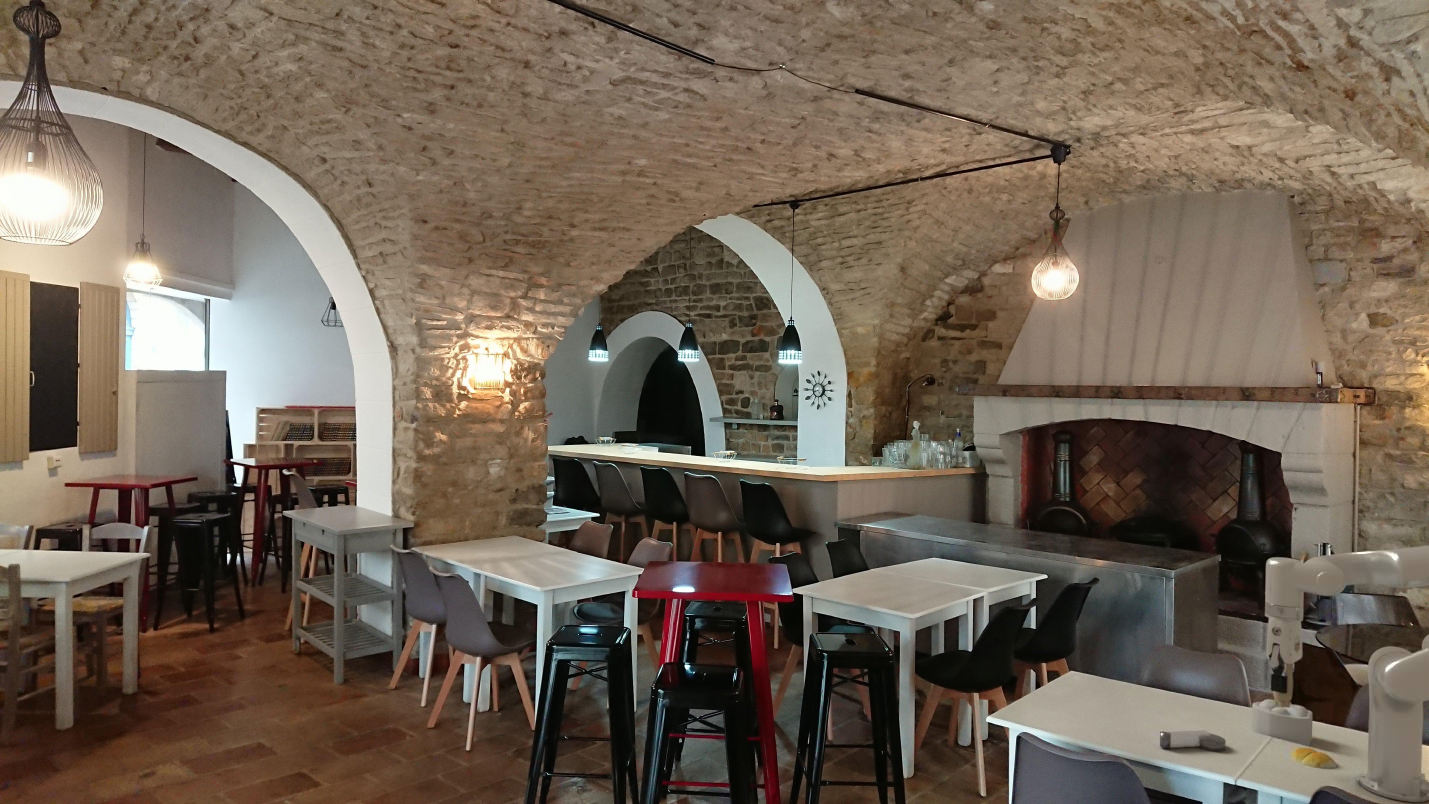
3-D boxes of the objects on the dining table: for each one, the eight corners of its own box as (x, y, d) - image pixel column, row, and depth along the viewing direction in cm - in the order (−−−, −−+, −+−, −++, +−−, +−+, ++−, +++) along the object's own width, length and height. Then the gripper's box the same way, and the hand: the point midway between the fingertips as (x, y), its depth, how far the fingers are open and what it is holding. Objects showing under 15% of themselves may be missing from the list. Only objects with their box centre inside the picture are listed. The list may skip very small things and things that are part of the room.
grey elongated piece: (1211, 739, 223) (1211, 725, 223) (1232, 750, 217) (1232, 736, 217) (1151, 742, 221) (1151, 728, 221) (1170, 753, 214) (1170, 738, 214)
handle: (1298, 711, 205) (1299, 646, 205) (1265, 705, 209) (1266, 641, 208) (1299, 705, 209) (1300, 641, 209) (1266, 700, 213) (1267, 637, 212)
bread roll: (1309, 758, 217) (1309, 741, 217) (1343, 773, 209) (1343, 756, 209) (1281, 760, 215) (1281, 743, 215) (1314, 776, 207) (1314, 758, 207)
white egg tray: (1308, 749, 223) (1309, 714, 223) (1248, 736, 231) (1249, 702, 231) (1313, 737, 231) (1314, 704, 231) (1254, 725, 239) (1255, 692, 239)
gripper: (1290, 619, 200) (1289, 701, 200) (1313, 609, 212) (1311, 687, 212) (1253, 613, 206) (1251, 692, 206) (1277, 603, 217) (1276, 679, 217)
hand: (1282, 689), depth 209 cm, fingers closed on handle, 3 cm apart
